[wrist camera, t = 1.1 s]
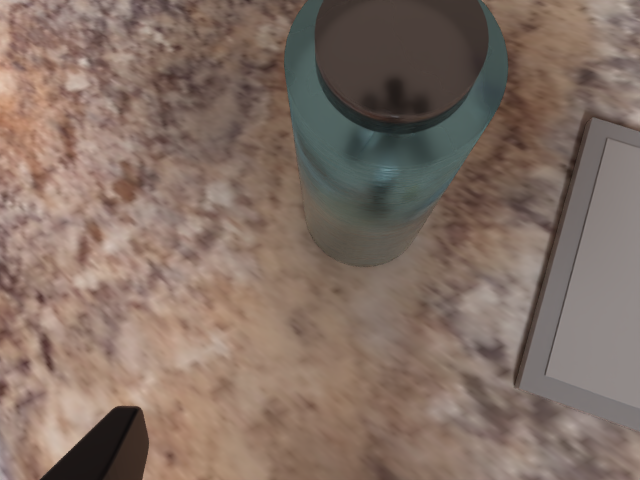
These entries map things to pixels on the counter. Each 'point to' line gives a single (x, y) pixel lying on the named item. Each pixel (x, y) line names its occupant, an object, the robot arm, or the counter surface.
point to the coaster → (593, 287)
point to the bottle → (386, 114)
